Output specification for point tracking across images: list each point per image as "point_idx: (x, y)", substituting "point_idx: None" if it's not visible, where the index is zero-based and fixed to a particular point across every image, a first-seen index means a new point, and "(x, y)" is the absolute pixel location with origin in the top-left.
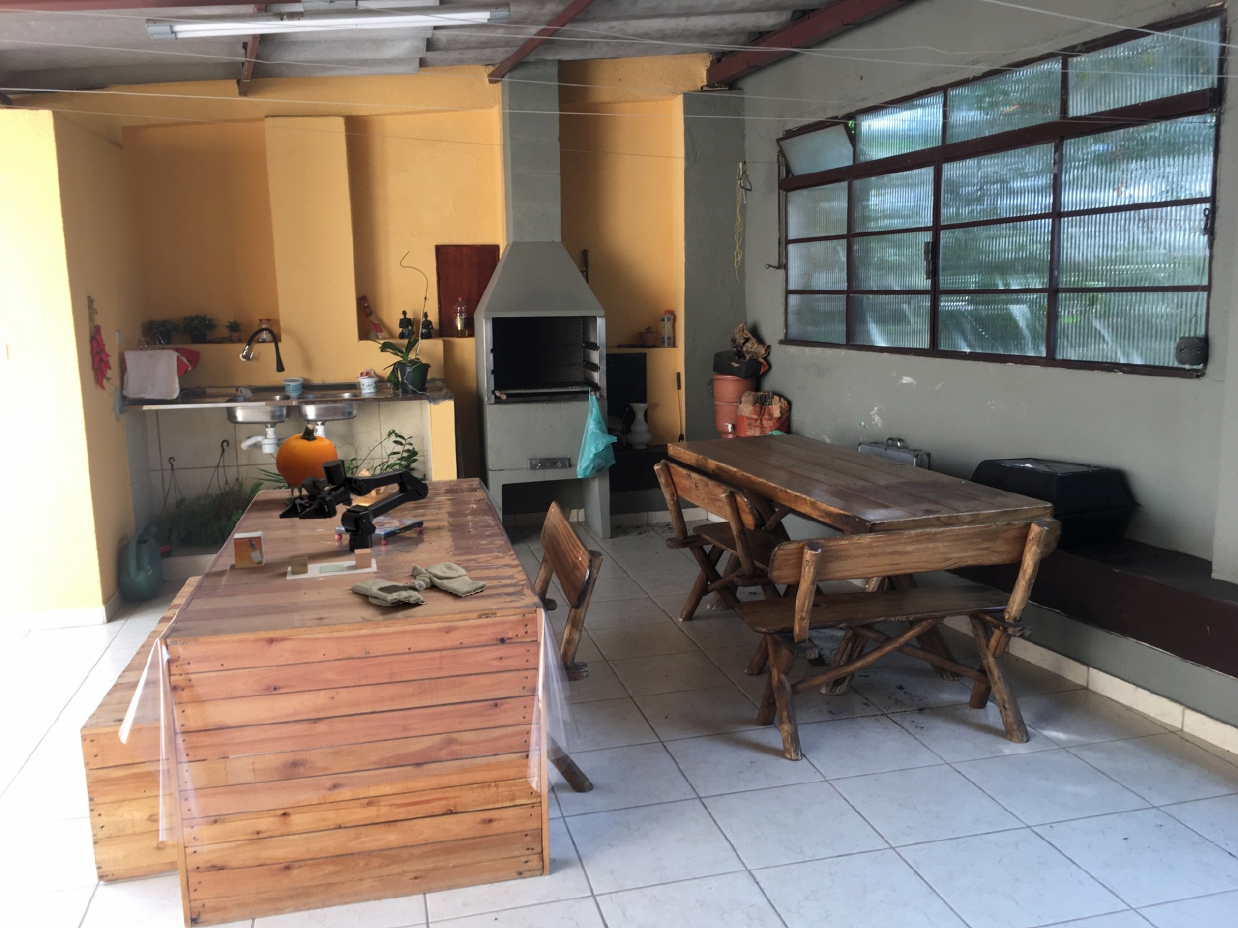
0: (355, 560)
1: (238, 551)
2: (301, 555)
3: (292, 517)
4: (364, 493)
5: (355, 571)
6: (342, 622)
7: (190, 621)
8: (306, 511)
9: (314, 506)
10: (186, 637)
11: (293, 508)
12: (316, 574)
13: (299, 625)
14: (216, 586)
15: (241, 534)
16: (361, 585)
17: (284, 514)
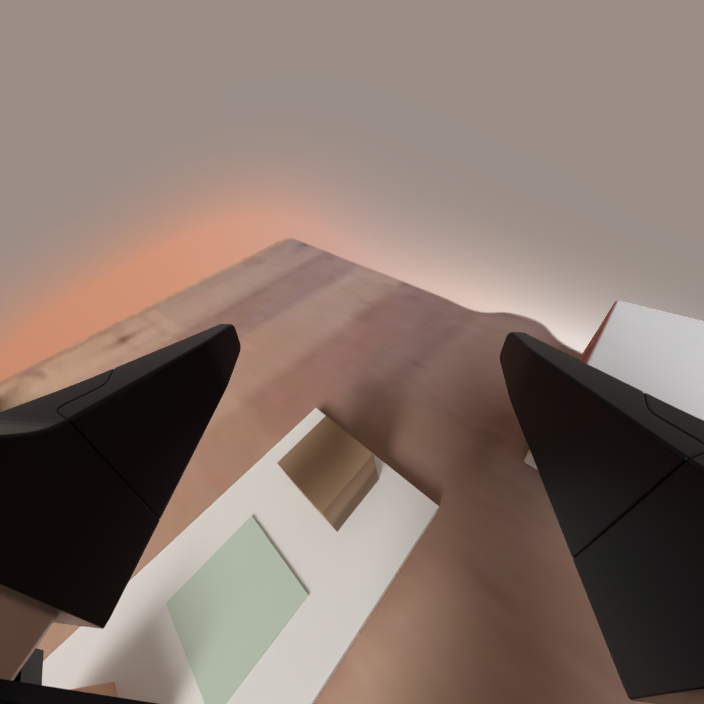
0: (76, 689)
1: (582, 354)
2: (327, 478)
3: (554, 503)
4: None
5: (106, 630)
6: (78, 347)
7: (316, 256)
8: (149, 355)
9: (3, 421)
10: (276, 244)
11: (671, 519)
12: (256, 494)
13: (149, 313)
14: (452, 321)
15: (691, 339)
16: None
17: (527, 375)
